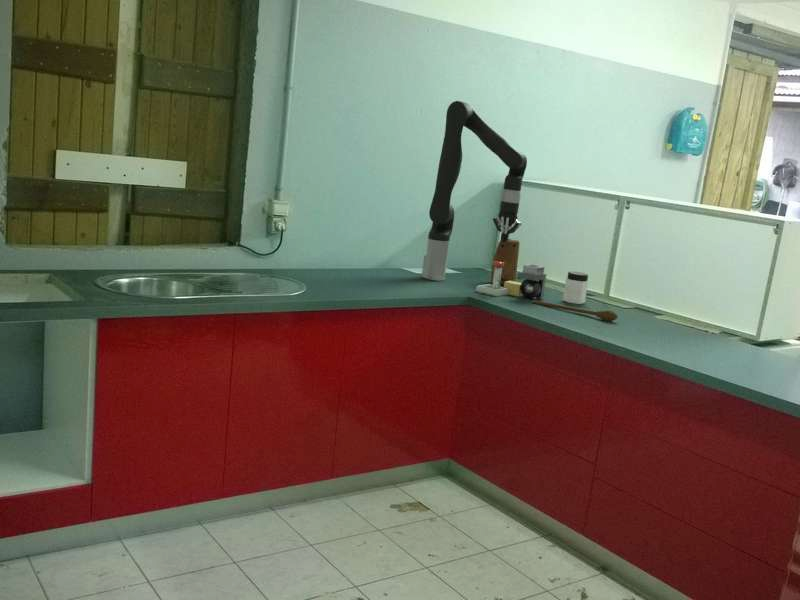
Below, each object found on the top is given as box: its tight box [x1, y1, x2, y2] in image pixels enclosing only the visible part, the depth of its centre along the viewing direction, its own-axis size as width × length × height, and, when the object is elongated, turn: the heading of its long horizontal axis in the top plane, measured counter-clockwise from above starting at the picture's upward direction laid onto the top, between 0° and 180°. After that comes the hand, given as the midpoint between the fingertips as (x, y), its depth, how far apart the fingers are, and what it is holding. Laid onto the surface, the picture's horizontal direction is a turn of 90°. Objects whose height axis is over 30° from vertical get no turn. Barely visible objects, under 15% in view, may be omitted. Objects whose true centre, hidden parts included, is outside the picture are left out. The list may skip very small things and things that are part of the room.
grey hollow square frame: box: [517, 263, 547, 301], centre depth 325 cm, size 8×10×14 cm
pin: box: [492, 261, 504, 290], centre depth 329 cm, size 4×4×12 cm
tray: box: [475, 283, 509, 297], centre depth 328 cm, size 10×10×2 cm
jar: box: [562, 271, 589, 305], centre depth 329 cm, size 9×8×12 cm
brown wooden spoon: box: [531, 299, 618, 323], centre depth 307 cm, size 5×35×5 cm
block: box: [490, 238, 521, 286], centre depth 351 cm, size 11×8×20 cm
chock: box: [503, 281, 524, 297], centre depth 331 cm, size 7×5×5 cm
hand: (503, 242), depth 331 cm, fingers closed
